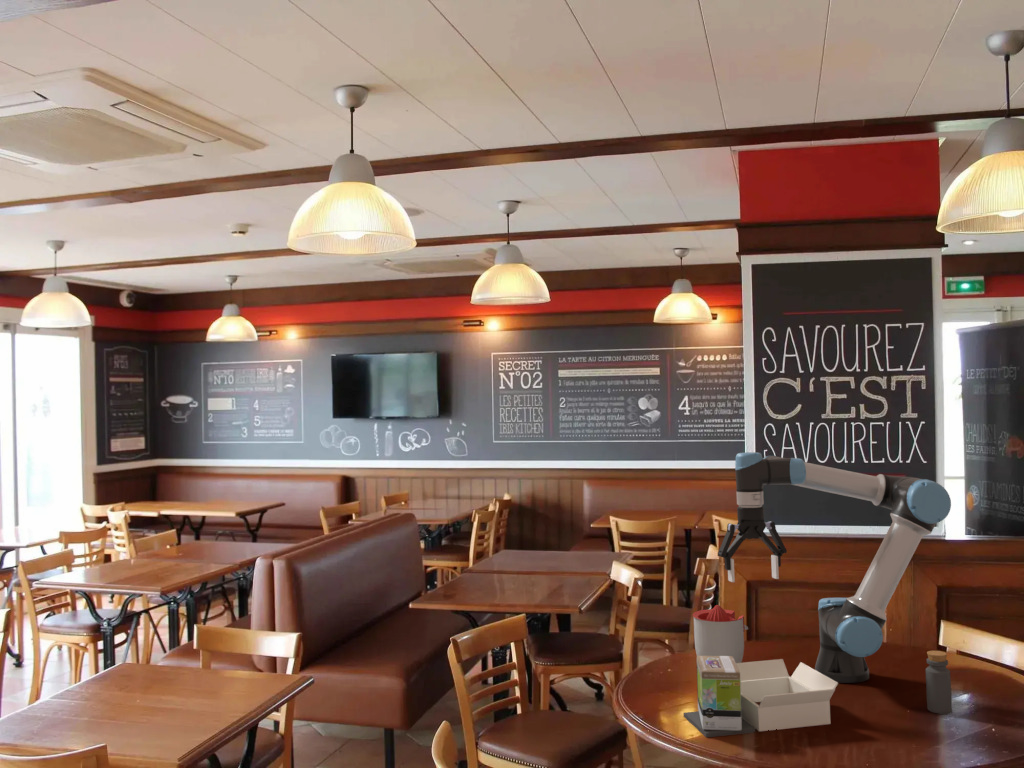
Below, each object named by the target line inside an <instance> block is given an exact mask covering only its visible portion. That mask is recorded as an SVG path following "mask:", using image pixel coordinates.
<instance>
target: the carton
mask: <svg viewBox="0 0 1024 768" xmlns="http://www.w3.org/2000/svg"><path fill="white" fill-rule="evenodd" d="M736 664H737V667H738V669H739V671H740V682H741V718H743V719H744V720H745V721H746V722H748V723H749V724H750V725H751V726H753V727H754V728H755V730H756V731H757V732H766V731H768V730H769V731H775V730H776V729H777V730H785V729H795V728H804V727H815V726H824V725H825V726H826V725H831V703H830V700H831V698H832V696H833V694H834V693H835V691H836V687H837V686H838V685H839V682H836V681H834V680H832V679H831V678H829V677H827V676H825V675H823V674H821V673H820V672H818V671H816V670H815V668H812V667H810V666H809V665H807V664H806V663H804V662H801V661H800V662H799V664H798V666H796V668H795V670H794V671H793V673H792V675H791V676H790V675H789V673H788V670H787V666H786V664H785V662H784V659H783V658H779V659H778V658H777V659H768V660H757V661H745V662H744V661H743V662H742V663H736ZM758 703H759V704H758Z"/></svg>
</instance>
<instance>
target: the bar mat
mask: <svg viewBox="0 0 1024 768" xmlns="http://www.w3.org/2000/svg"><path fill="white" fill-rule="evenodd" d="M683 717H684V718H685V719H686V720H687V721H688V722H689V723H690V724H691V725H692V726H693V727H694V728H695V729H697V730H698V731H699V733H701V734H702V735H703V736H704V737H705V738H714V737H722V736H723V737H724V736H732V735H733V736H734V735H741V734H743V735H744V734H752V733H756V729H755V728H754V727H753V726H752V725H750V724H749V723H748V722H746V721H745V720H744V719H743V718H741V721H742V729H741V730H738V731H733V730H705V729H703V728H702V724H701V719H700V715H699V711H698V710H697V711H688V712H687V711H686V712H683Z"/></svg>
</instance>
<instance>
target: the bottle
mask: <svg viewBox="0 0 1024 768" xmlns="http://www.w3.org/2000/svg"><path fill="white" fill-rule="evenodd" d="M926 654H927V657H928V658H926V664H928V666H927V667H926V668H925V685H926V686H925V687H926V689H925V690H926V704H927V705H926V706H927V707H926V708H927V710H928V711H929V712H931V713H935V714H939V715H949V714H951V713H953V704H952V703H953V702H952V701H953V699H952V685H951V684H952V683H951V682H952V681H951V670H950V669H949V668H947V666H948V665H949V661H948V659H947V656H948V654H947V652H944V651H941V650H928V651H927V652H926Z"/></svg>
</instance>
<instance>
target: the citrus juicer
mask: <svg viewBox="0 0 1024 768" xmlns="http://www.w3.org/2000/svg"><path fill="white" fill-rule="evenodd" d="M744 616H745V615H740V616H739V617H738V618H737V619H736V612H735V610H731V609H724V608H722V607H721V606H720V605H719V604H716V605H714V607H713V608H712V609H711V608H710V609H709V608H708V609H701V610H697V611H694V612H693V613H692V617H693V637H694V648H695V653H696V657H697V656H733V658H734V660H735V662H736V663H743V659H744V658H743V657H744V653H745V652H744V651H745V639H744V638H745V637H744V636H745V635H744V632H745V630H747V631H748V630H749V627H748V625H746V624H745V617H744Z"/></svg>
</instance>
